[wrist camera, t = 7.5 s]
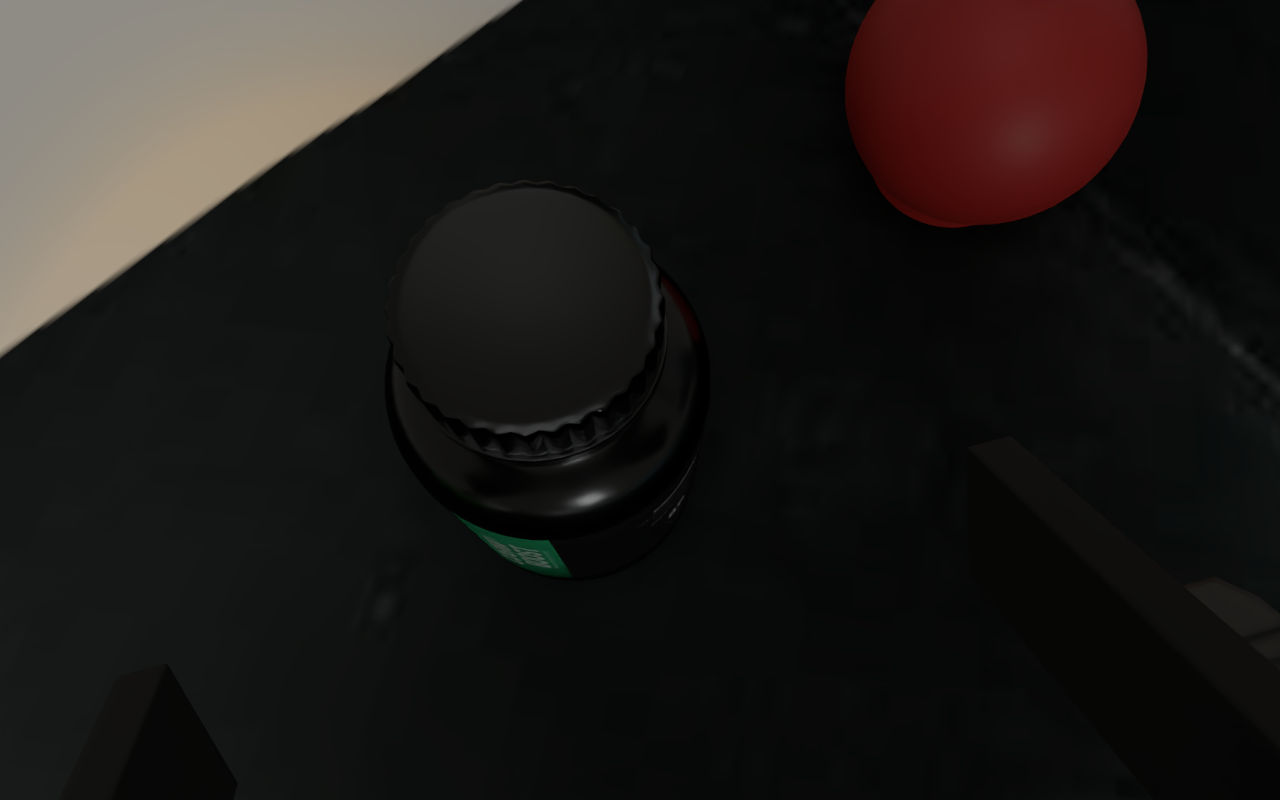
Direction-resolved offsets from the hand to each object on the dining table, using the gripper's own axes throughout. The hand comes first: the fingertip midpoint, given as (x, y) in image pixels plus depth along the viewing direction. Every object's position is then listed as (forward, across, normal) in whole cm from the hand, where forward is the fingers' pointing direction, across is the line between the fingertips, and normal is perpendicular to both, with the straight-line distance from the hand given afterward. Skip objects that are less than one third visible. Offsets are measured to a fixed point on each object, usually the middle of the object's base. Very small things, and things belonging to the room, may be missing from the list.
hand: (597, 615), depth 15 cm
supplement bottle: (+12, 0, -4) cm, 12 cm away
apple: (+16, +14, +1) cm, 22 cm away
